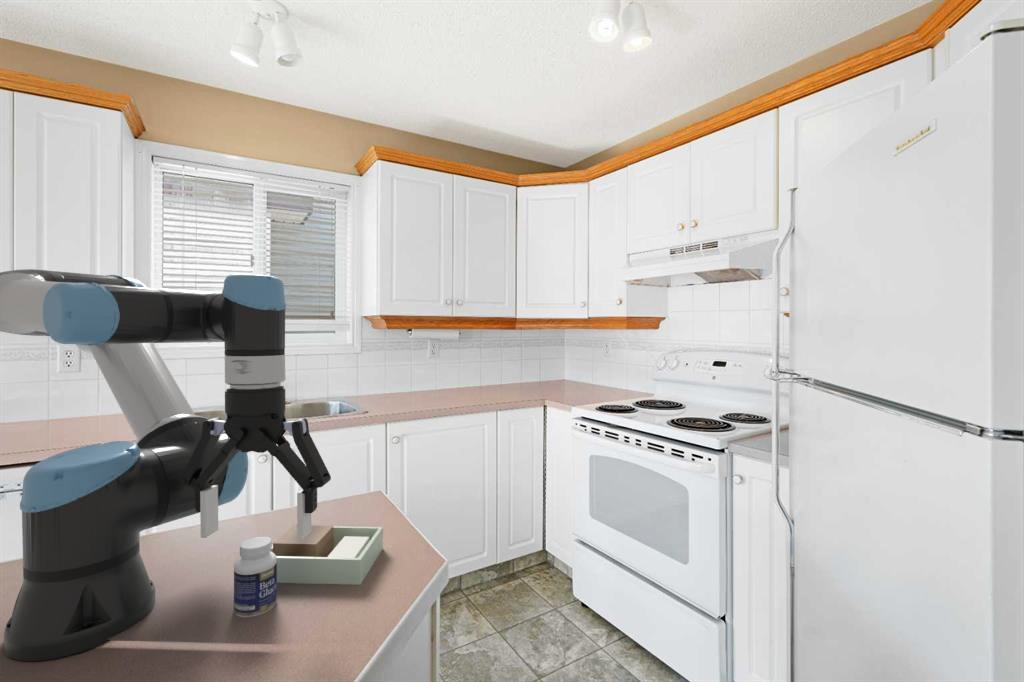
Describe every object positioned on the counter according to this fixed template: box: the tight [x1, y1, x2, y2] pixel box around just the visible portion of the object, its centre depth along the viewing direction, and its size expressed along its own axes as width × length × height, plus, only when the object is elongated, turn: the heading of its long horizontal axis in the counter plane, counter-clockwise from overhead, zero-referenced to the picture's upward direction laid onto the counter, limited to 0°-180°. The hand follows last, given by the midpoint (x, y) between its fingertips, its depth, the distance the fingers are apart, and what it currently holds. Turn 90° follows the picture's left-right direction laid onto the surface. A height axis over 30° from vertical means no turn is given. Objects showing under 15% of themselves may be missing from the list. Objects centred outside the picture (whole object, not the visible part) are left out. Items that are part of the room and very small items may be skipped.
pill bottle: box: [233, 536, 278, 618], centre depth 68 cm, size 5×5×10 cm
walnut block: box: [272, 524, 334, 557], centre depth 80 cm, size 7×7×5 cm
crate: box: [271, 525, 384, 586], centre depth 80 cm, size 16×12×4 cm
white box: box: [328, 536, 369, 558], centre depth 80 cm, size 4×8×3 cm, turn 179°
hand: (256, 534), depth 67 cm, fingers open, 13 cm apart
